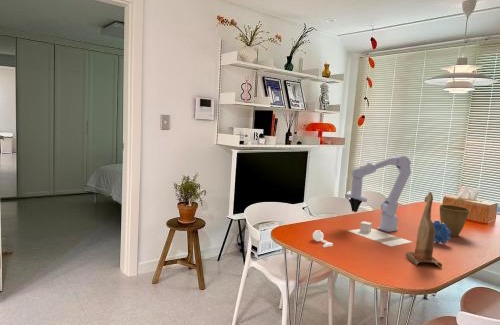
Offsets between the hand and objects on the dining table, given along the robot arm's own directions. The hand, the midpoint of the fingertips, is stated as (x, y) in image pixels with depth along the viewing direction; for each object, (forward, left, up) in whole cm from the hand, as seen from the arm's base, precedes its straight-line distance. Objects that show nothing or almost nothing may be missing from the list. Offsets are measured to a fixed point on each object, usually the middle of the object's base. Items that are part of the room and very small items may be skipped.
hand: (354, 211), depth 205 cm
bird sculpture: (+14, +52, -10) cm, 55 cm away
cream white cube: (0, +9, -10) cm, 13 cm away
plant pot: (-45, +33, -10) cm, 57 cm away
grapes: (-20, +39, -10) cm, 45 cm away
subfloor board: (0, +18, -9) cm, 20 cm away
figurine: (+39, +14, -10) cm, 42 cm away
